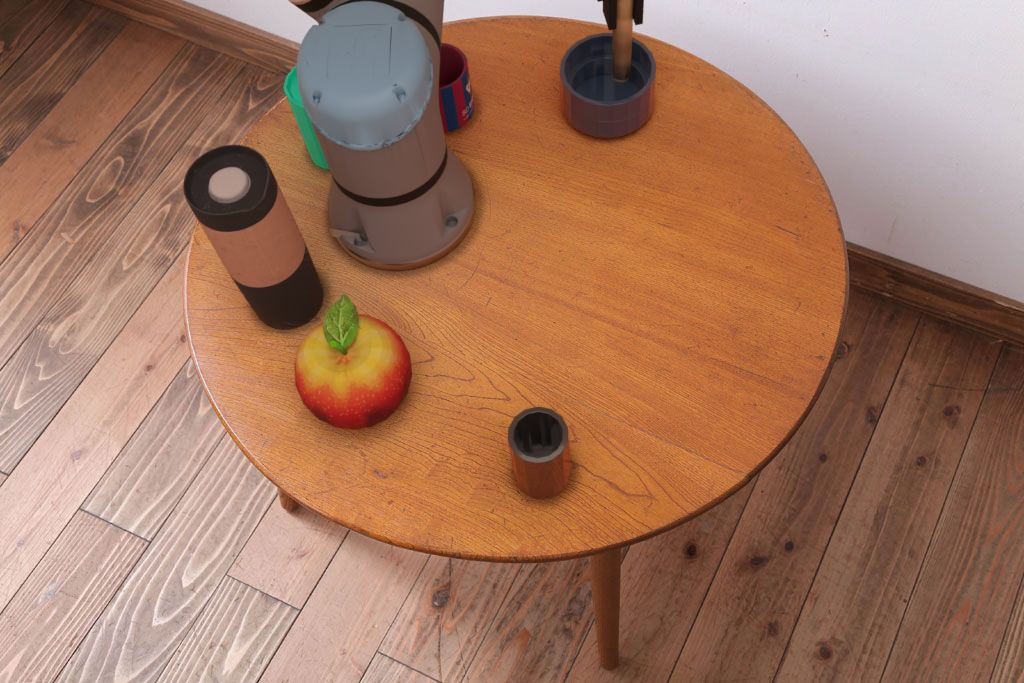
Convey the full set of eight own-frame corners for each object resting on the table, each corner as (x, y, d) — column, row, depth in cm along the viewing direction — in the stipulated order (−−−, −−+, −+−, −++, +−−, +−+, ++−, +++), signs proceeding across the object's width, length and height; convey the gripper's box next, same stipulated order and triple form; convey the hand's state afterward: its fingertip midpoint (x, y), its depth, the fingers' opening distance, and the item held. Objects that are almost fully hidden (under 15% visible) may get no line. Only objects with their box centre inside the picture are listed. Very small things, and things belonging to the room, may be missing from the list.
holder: (510, 453, 94) (501, 414, 86) (564, 442, 94) (561, 401, 86) (521, 504, 91) (513, 468, 83) (576, 492, 92) (574, 455, 84)
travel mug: (253, 271, 105) (184, 147, 88) (327, 263, 105) (272, 138, 87) (250, 336, 102) (177, 220, 84) (326, 328, 101) (269, 211, 84)
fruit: (302, 445, 96) (272, 400, 87) (313, 343, 101) (286, 290, 92) (415, 442, 95) (397, 397, 86) (421, 340, 100) (404, 287, 91)
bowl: (552, 82, 114) (550, 43, 109) (639, 64, 115) (641, 24, 109) (573, 150, 110) (571, 113, 104) (663, 131, 110) (667, 93, 105)
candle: (298, 148, 113) (267, 72, 102) (341, 118, 114) (315, 40, 104) (330, 179, 110) (302, 105, 100) (374, 148, 112) (350, 71, 101)
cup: (465, 136, 112) (458, 94, 106) (378, 124, 113) (366, 82, 107) (480, 90, 115) (474, 46, 109) (395, 79, 116) (384, 35, 110)
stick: (609, 74, 109) (611, -72, 93) (628, 71, 110) (633, -76, 93) (614, 88, 109) (616, -57, 92) (632, 84, 109) (638, -61, 92)
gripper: (544, -159, 79) (556, 59, 99) (735, -195, 79) (707, 29, 100) (526, -217, 82) (540, 5, 103) (708, -252, 82) (686, -24, 103)
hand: (622, 17), depth 101 cm, fingers closed on stick, 2 cm apart
